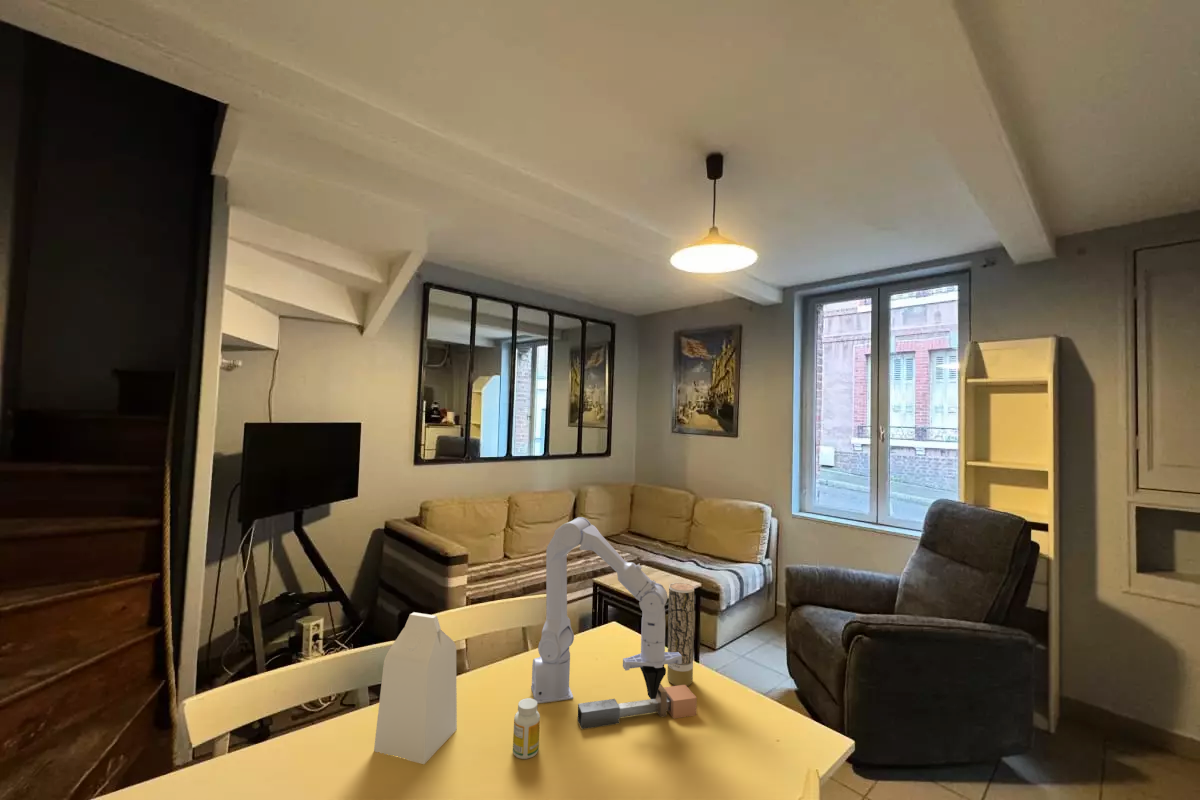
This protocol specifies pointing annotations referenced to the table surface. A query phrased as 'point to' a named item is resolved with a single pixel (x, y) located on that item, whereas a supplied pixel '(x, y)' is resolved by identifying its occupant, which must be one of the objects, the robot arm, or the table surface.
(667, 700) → the tube
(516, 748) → the supplement bottle
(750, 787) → the table surface
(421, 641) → the milk
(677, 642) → the brown cylindrical piece
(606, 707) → the sleeve
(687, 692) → the socket block
